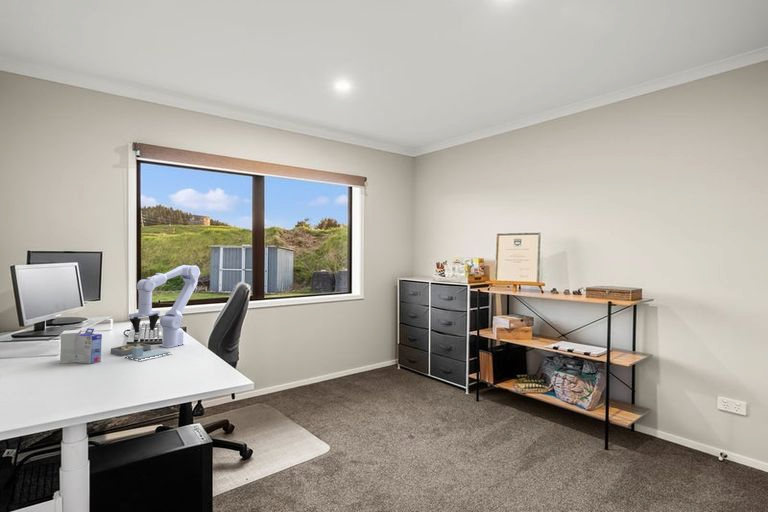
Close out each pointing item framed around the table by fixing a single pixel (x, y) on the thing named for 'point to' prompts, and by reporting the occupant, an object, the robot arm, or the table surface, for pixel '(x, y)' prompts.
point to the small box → (68, 345)
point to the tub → (129, 349)
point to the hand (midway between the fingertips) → (144, 331)
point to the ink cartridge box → (87, 347)
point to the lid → (145, 353)
